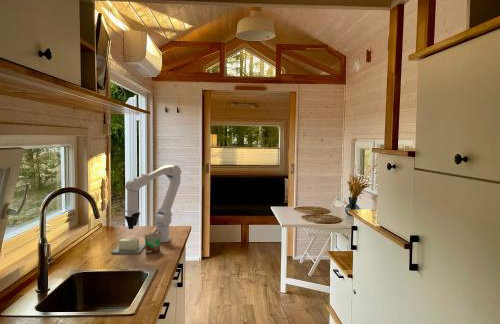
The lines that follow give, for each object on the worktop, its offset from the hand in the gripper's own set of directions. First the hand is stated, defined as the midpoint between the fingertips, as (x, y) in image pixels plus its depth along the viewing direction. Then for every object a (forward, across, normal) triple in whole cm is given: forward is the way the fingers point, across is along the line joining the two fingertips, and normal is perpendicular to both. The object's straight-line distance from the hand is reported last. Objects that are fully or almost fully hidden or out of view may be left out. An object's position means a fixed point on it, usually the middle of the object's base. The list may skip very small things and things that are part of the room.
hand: (132, 227), depth 200 cm
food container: (+11, +10, +14) cm, 20 cm away
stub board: (+10, +7, 0) cm, 13 cm away
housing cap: (+9, +7, 0) cm, 12 cm away
